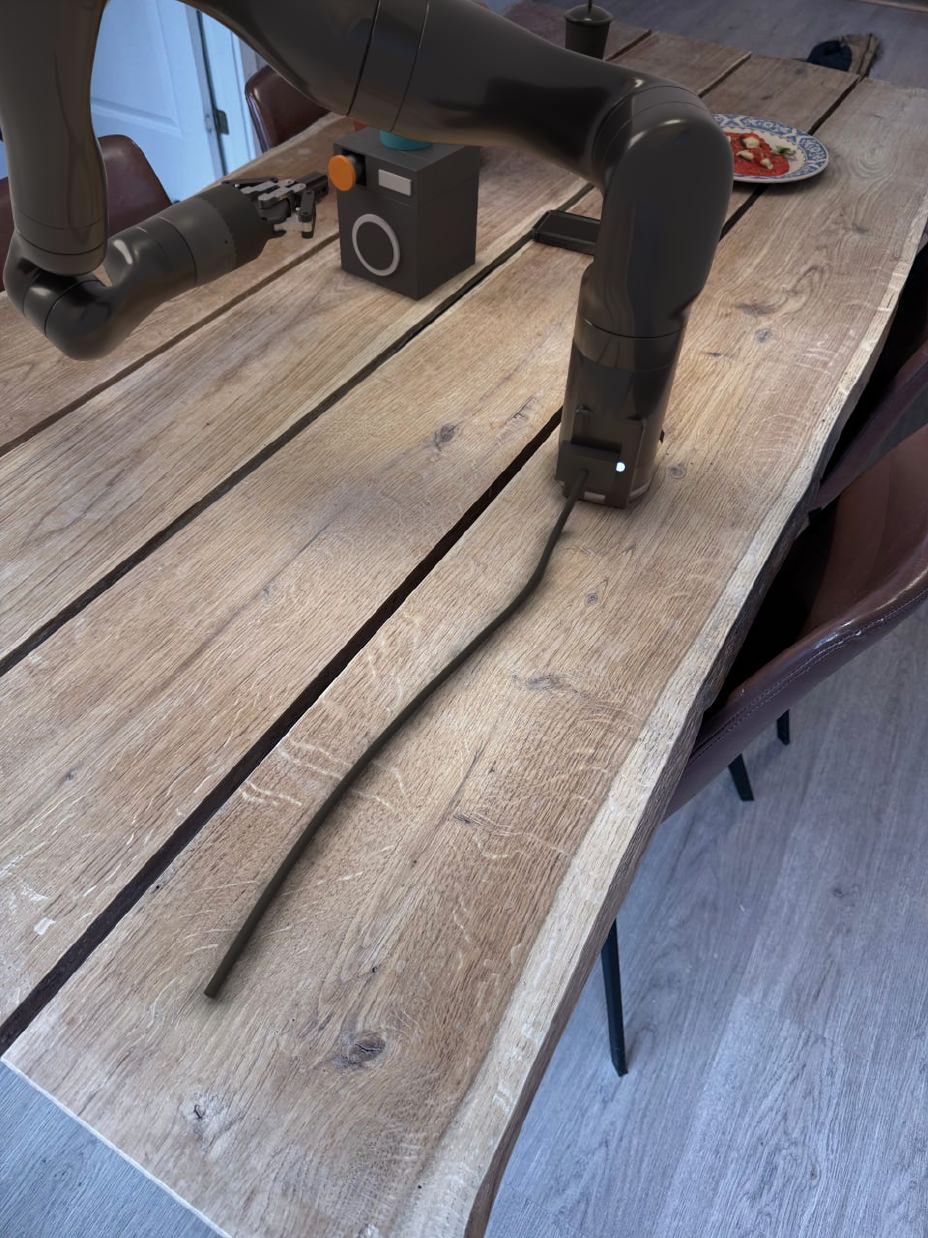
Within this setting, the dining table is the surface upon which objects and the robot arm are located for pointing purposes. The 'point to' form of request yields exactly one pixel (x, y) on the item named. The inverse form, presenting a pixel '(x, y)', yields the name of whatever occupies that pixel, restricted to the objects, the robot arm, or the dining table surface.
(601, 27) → the drinking cup
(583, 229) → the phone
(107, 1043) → the dining table surface
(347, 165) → the power button
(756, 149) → the ceramic plate
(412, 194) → the washer
